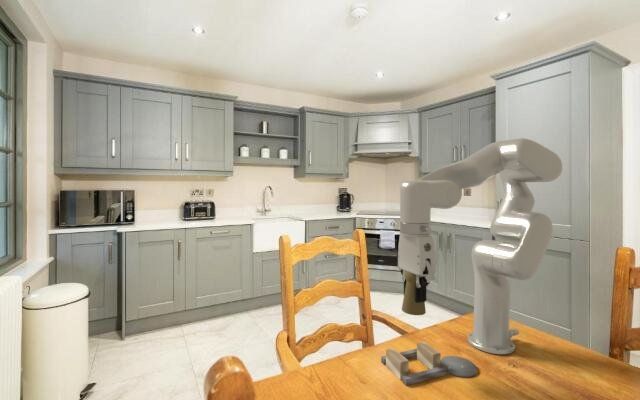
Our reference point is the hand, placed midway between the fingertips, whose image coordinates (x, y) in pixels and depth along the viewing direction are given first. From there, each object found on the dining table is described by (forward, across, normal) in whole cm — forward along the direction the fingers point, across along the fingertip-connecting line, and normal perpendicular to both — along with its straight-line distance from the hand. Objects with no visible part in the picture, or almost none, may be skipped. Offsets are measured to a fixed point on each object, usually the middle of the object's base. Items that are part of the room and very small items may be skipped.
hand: (414, 297), depth 83 cm
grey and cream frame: (+19, 0, 0) cm, 19 cm away
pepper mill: (+4, 0, 0) cm, 4 cm away
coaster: (+19, -4, -11) cm, 22 cm away
